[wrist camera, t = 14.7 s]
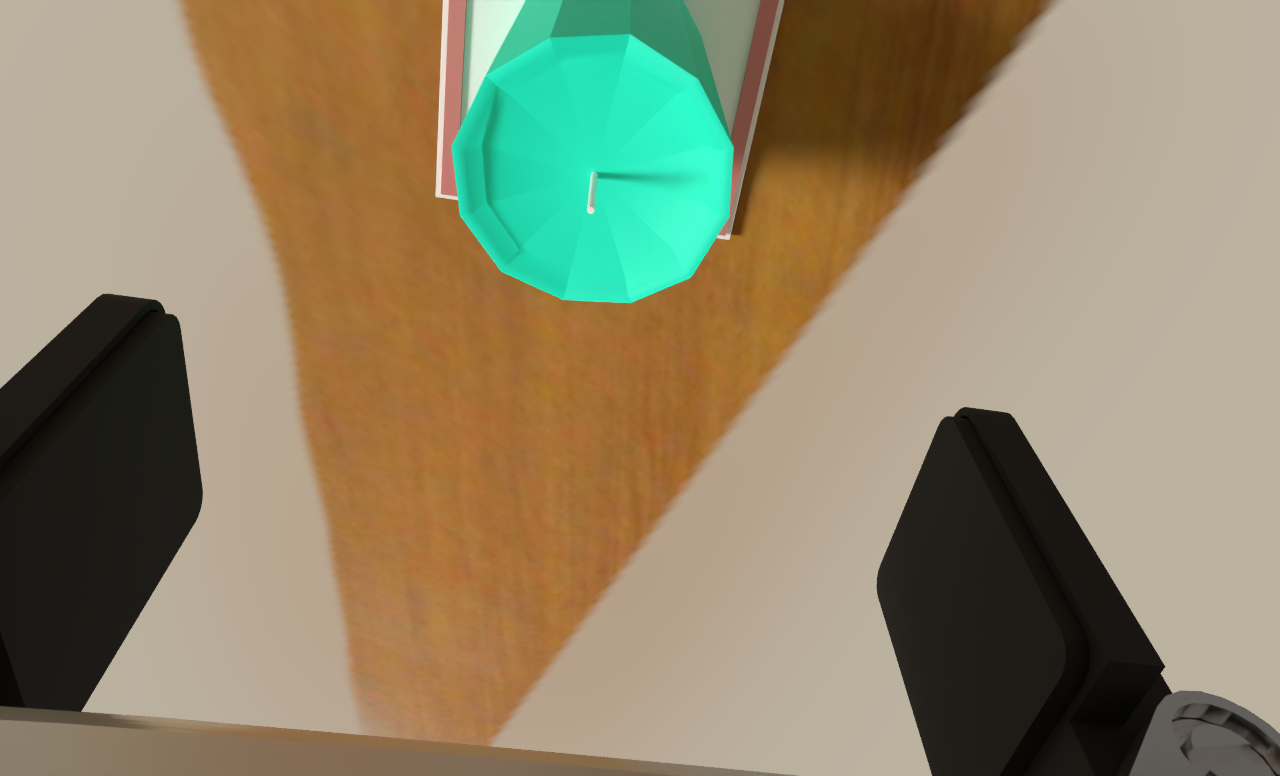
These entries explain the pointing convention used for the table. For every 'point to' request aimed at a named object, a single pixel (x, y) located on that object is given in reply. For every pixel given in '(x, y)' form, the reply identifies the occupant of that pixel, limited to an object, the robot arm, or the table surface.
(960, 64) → the table surface
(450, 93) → the marked card
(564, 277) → the candle
